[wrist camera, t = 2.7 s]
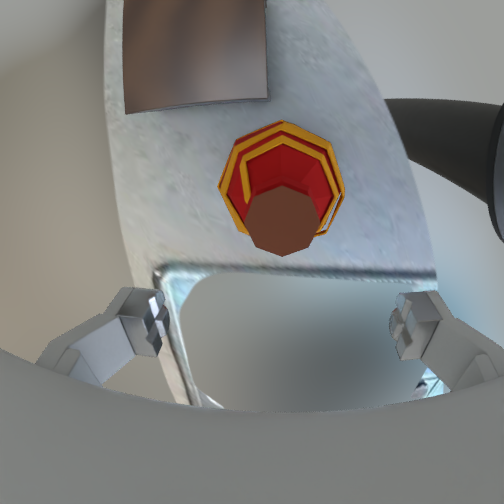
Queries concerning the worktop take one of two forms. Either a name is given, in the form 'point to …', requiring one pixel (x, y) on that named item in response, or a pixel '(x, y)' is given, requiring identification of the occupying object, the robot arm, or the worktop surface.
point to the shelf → (193, 53)
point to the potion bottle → (281, 186)
